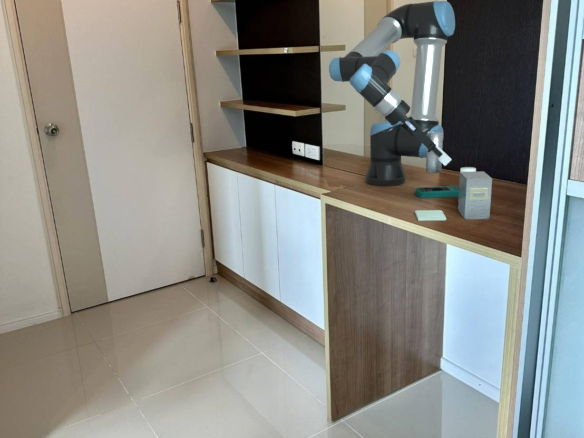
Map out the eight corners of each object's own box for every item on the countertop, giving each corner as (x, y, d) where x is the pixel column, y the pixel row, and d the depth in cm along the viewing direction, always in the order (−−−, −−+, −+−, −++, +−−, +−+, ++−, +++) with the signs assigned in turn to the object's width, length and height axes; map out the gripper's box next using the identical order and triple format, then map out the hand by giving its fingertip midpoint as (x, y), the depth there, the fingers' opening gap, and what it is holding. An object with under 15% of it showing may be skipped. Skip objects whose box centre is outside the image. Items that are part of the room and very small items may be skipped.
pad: (414, 213, 165) (414, 210, 165) (441, 212, 165) (441, 210, 164) (418, 220, 158) (418, 217, 158) (446, 220, 157) (446, 217, 157)
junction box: (458, 209, 167) (459, 171, 163) (481, 209, 166) (483, 171, 163) (465, 219, 157) (467, 179, 153) (490, 219, 156) (492, 179, 152)
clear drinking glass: (425, 170, 169) (426, 131, 165) (440, 169, 168) (441, 131, 165) (427, 173, 164) (428, 133, 161) (442, 173, 164) (444, 133, 160)
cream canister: (457, 203, 174) (459, 167, 170) (472, 203, 173) (474, 166, 170) (460, 207, 169) (462, 170, 166) (475, 207, 169) (477, 169, 165)
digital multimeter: (413, 194, 189) (413, 186, 188) (455, 192, 189) (456, 184, 188) (419, 200, 182) (419, 191, 181) (462, 198, 182) (463, 189, 181)
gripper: (382, 114, 171) (433, 164, 174) (385, 120, 154) (442, 175, 157) (399, 96, 169) (450, 147, 172) (404, 101, 152) (461, 157, 155)
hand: (446, 160), depth 165 cm, fingers closed on clear drinking glass, 5 cm apart
